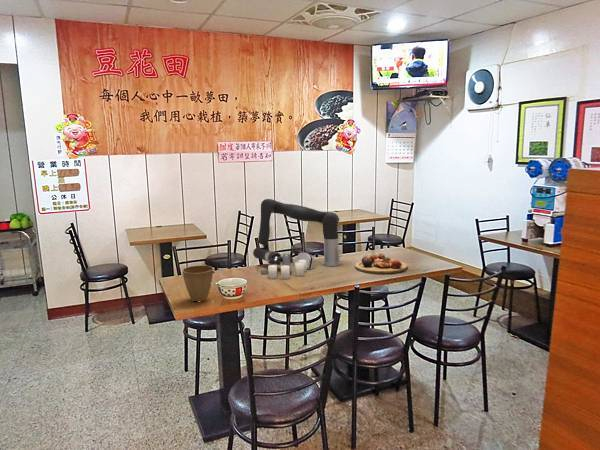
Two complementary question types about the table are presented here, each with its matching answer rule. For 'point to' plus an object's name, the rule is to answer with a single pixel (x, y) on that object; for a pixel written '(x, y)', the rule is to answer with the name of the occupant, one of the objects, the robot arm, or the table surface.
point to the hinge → (306, 257)
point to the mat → (264, 272)
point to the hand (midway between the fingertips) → (285, 262)
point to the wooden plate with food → (380, 265)
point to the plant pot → (198, 281)
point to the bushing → (286, 260)
